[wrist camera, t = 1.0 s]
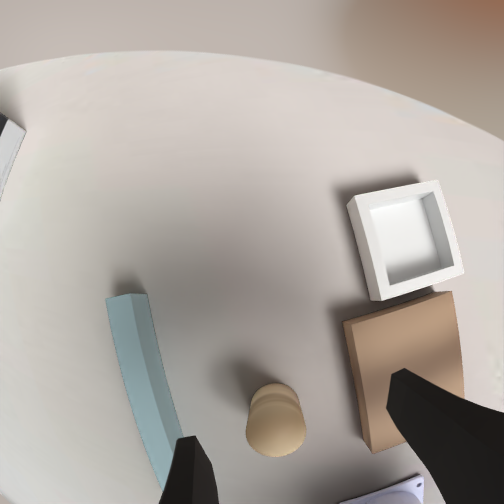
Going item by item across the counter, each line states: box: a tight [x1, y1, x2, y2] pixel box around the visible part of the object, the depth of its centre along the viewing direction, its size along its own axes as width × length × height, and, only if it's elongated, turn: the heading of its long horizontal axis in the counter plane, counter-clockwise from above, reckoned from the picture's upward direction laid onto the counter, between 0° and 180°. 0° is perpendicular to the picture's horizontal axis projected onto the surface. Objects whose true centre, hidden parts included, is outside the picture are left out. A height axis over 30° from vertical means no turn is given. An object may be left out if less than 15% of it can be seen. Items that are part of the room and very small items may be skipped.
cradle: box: [346, 180, 464, 301], centre depth 21 cm, size 7×7×2 cm
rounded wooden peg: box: [246, 383, 306, 457], centre depth 18 cm, size 4×4×5 cm
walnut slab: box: [342, 291, 464, 454], centre depth 19 cm, size 10×8×3 cm
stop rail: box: [105, 293, 184, 491], centre depth 20 cm, size 18×2×3 cm, turn 13°
